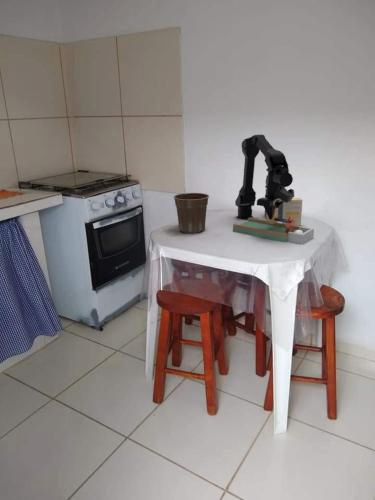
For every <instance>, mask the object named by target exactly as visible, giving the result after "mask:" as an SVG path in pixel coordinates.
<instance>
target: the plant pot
mask: <svg viewBox="0 0 375 500" xmlns="http://www.w3.org/2000/svg"><path fill="white" fill-rule="evenodd" d="M209 198H210V195H209V194H208V193H202V192H186V193H178V194H175V195H173V199H174V204H175V205H174V206H176V213H177V215H176V216H177V220H178V221H177V222H178V230H179V232H183V233H187V234H197V233H200V232H201V233H202V232H204V231H205V230H206V218H207V208H208V204H209V202H208V201H209Z"/></svg>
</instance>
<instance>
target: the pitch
mask: <svg viewBox="0 0 375 500" xmlns="http://www.w3.org/2000/svg"><path fill="white" fill-rule="evenodd" d="M285 229H286V224H283V223H282V222H279V221H277V223H276V224H269V223H266V219H265V220H264V219H260V218H259V219H258V218H255V217H251V218H248V219H247V221H245V222H242V223H240V224H238V223H233V225H232V232H234V233H239V234H243V235H244V234H245V235H248V236H252V237H253V236H254V237H259V238H262V239H269V240H273V241H279V242H283V243H287V242H289V243H294V244H298V245H299V244H300V245H303V244H305V243H307V242H308V241H309V242H310V241H311V240H312V239H313V238H314V233H315V228H311V227H308V226H307V227H306V226H295V231H296V230H301V231H302V232H303V234H299V233H294V232H295V231H293V232H288V233H285Z"/></svg>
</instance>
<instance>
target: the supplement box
mask: <svg viewBox="0 0 375 500" xmlns="http://www.w3.org/2000/svg"><path fill="white" fill-rule="evenodd" d="M302 212H303V199H302V198H301V197H293V198H292V200H291V201H290V202H288V203H286V202H284V203H283V216H282V219H289V217H293V219H294V220H293V221H296V222H295V226H301V225H302V216H303V215H302ZM281 223H283V224H286V223H285V222H281ZM301 227H302V226H301Z"/></svg>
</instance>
